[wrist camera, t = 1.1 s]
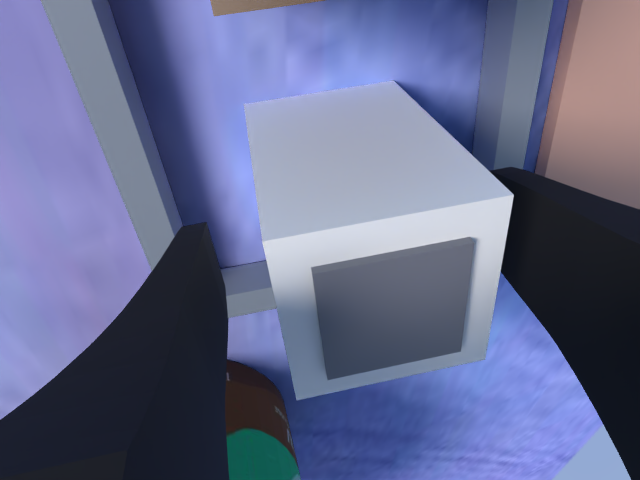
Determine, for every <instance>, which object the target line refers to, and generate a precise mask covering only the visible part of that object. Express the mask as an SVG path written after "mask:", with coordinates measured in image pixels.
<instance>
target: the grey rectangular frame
mask: <svg viewBox="0 0 640 480" xmlns="http://www.w3.org/2000/svg"><path fill="white" fill-rule="evenodd" d="M553 1H554V0H488V8H487V17H486V27H485V36H484V46H483V55H482V64H481V74H480V83H479V92H478V102H477V111H476V121H475V130H474V139H473V149H472V156H474V157H475V158H476V159H477V160H478V161H479V162H480V163H481V164H482V165H483V166H484V167H485V168H486V169H487V170H488V171H490V170H496V169H501V168H506V167H515V168H519V169H522V170H523V166H524V160H525V155H526V150H527V144H528V139H529V133H530V128H531V122H532V117H533V111H534V106H535V100H536V95H537V89H538V84H539V78H540V73H541V67H542V62H543V56H544V51H545V45H546V40H547V34H548V29H549V23H550V18H551V12H552V7H553ZM41 2H42V5H43V7H44V10H45V12H46V14H47V17H48V19H49V22H50V24H51V27H52V29H53V31H54V34H55V36H56V39H57V41H58V44H59V46H60V48H61V51H62V53H63V56H64V58H65V61H66V63H67V66H68V68H69V70H70V73H71V75H72V78H73V80H74V83H75V85H76V87H77V90H78V92H79V95H80V97H81V100H82V102H83V104H84V107H85V109H86V112H87V114H88V117H89V119H90V121H91V124H92V126H93V129H94V131H95V134H96V136H97V138H98V141H99V143H100V146H101V148H102V151H103V153H104V155H105V158H106V160H107V163H108V165H109V168H110V170H111V172H112V175H113V177H114V180H115V182H116V185H117V187H118V190H119V192H120V194H121V197H122V199H123V202H124V204H125V207H126V209H127V211H128V214H129V216H130V219H131V221H132V224H133V226H134V228H135V231H136V233H137V236H138V238H139V241H140V243H141V245H142V248H143V250H144V253H145V255H146V258H147V260H148V262H149V265H150V267H151V270H153V269H154V268H155V266H156V265H157V263H158V262H159V260H160V259H161V257H162V256H163V254H164V252H165V251H166V249H167V248H168V246H169V245H170V243H171V241H172V240H173V238H174V237H175V235H176V234H177V232H178V231H179V229H180V228H181V227H183V224H182V221H181V218H180V215H179V212H178V209H177V206H176V203H175V200H174V197H173V194H172V191H171V188H170V185H169V182H168V179H167V176H166V173H165V170H164V167H163V164H162V161H161V158H160V155H159V152H158V149H157V146H156V143H155V140H154V137H153V134H152V131H151V128H150V125H149V122H148V119H147V116H146V113H145V110H144V107H143V104H142V101H141V98H140V95H139V92H138V89H137V86H136V83H135V80H134V77H133V74H132V71H131V68H130V65H129V62H128V59H127V56H126V53H125V50H124V47H123V44H122V41H121V38H120V35H119V32H118V29H117V26H116V23H115V20H114V17H113V14H112V11H111V8H110V5H109V2H108V0H41ZM220 270H221V273H222V276H223V280H224V283H225V289H226V299H227V310H228V318H231V317H236V316H241V315H246V314H251V313H256V312H261V311H266V310H271V309H276V308H277V307H276V303H275V298H274V293H273V289H272V284H271V279H270V275H269V270H268V265H267V261H261V262H256V263H251V264H245V265H240V266H235V267H230V268H224V269H220Z"/></svg>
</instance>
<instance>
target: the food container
mask: <svg viewBox="0 0 640 480" xmlns="http://www.w3.org/2000/svg"><path fill="white" fill-rule="evenodd" d="M225 422H226V438H227V454H228V467H229V480H301V478H300V473H299V469H298V464H297V460H296V455H295V450H294V446H293V441H292V437H291V432H290V428H289V423H288V419H287V414H286V410H285V405H284V401H283V398H282V396H281V394H280V392H279V390H278V389H277V388H276V386H275V385H274V384H273V383H272V382H271V381H270V380H269V379H268V378H267V377H265V376H264V375H263V374H261V373H259V372H258V371H256V370H254V369H253V368H250V367H248V366H245V365H243V364H240V363H238V362H234V361H230V360H227V367H226V391H225Z"/></svg>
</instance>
